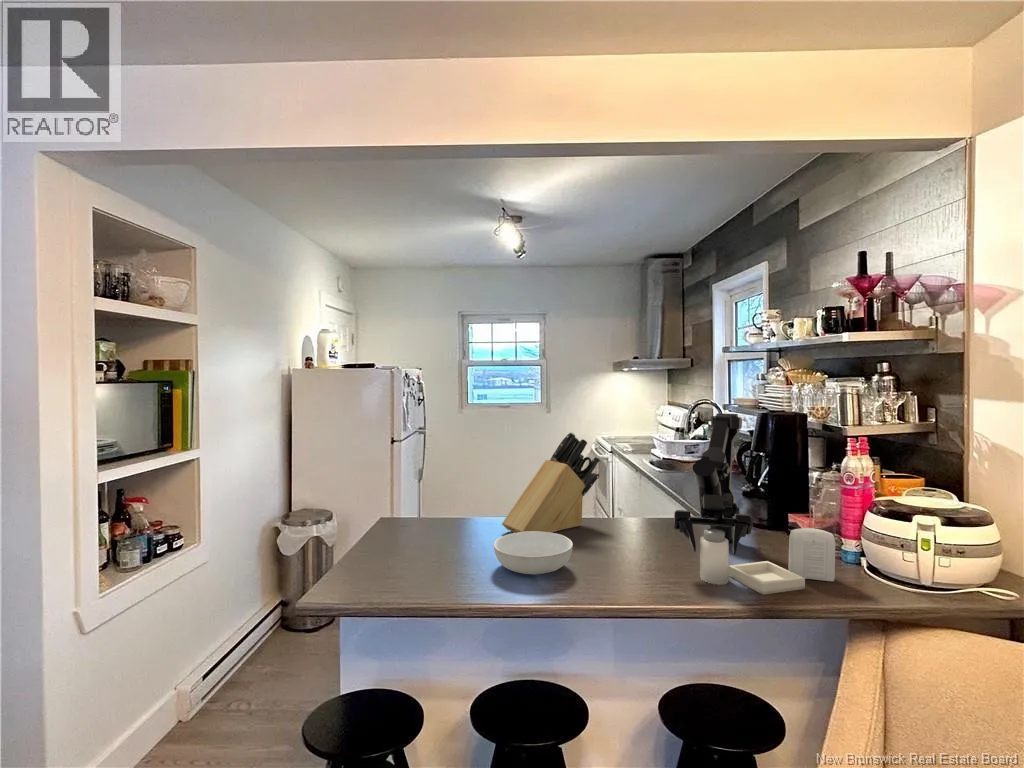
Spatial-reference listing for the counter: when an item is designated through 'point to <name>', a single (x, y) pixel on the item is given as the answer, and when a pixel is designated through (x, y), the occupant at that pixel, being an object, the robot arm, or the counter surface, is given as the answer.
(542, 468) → the knife block
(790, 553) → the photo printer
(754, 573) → the cream tray
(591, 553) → the counter surface
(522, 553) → the serving bowl
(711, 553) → the white bottle
